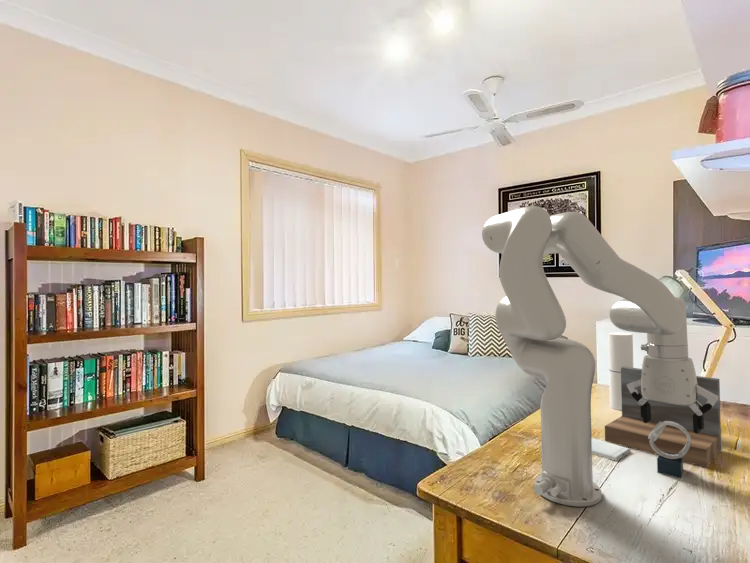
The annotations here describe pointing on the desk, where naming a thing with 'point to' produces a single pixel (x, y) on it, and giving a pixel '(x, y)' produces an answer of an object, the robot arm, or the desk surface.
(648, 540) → the desk surface
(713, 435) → the display stand
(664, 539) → the desk surface
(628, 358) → the cylindrical container
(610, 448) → the hard drive
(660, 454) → the watch
